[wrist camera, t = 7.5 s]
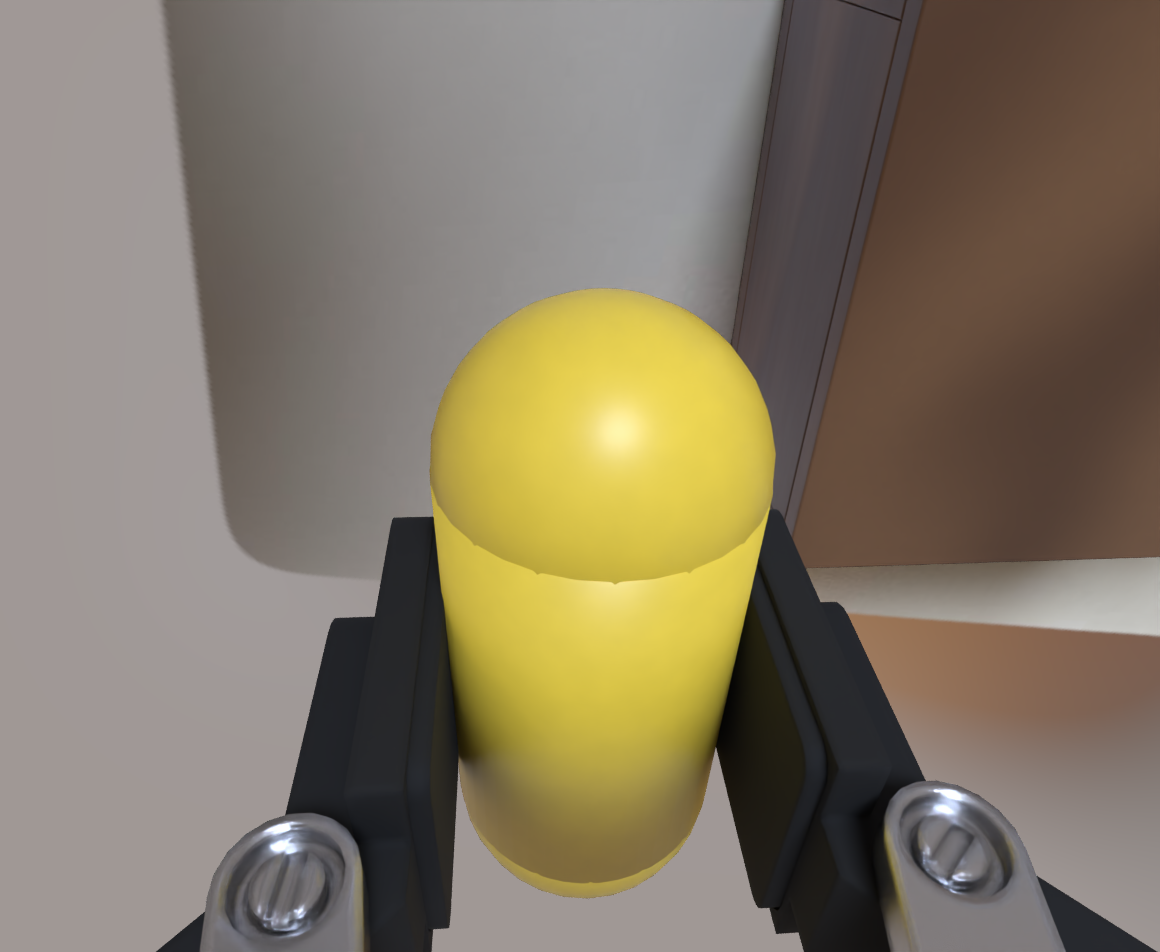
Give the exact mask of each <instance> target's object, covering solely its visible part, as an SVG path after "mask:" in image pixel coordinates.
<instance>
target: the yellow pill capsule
mask: <svg viewBox="0 0 1160 952" xmlns="http://www.w3.org/2000/svg"><path fill="white" fill-rule="evenodd" d="M775 457H776V452H775V445H774V439H773V432H772V425H771V421H770V417H769V413H768V410H767V406H766V404H765V402H764V399H763V397H762V394H761V392H760V390H759V387H758V385H757V382H756V380H755V379H754V377H753V376H752V374H751V372H750V371H749V369H748V368H747V366H746V365H745V363H744V362H743V361H742V359H741V358H740V357H739V355H738V354H737V353H736V351H735V350H734V349H733V347H732V346H731V345H730V344H729V343H728V342H727V341H726V340H725V339H724V338H723V337H722V336H721V335H720V334H719V333H718V332H716V331H715V330H714V329H712V328H711V327H710V326H709V325H707V324H706V323H705V322H704V321H702V320H701V319H700V318H698V317H697V316H695V315H694V314H692V313H691V312H689V311H688V310H686V309H683V308H681V307H679V306H677V305H675V304H673V303H670V302H667V301H664V300H662V299H659V298H656V297H653V296H650V295H647V294H644V293H640V292H635V291H630V290H623V289H610V288H596V289H584V290H577V291H572V292H568V293H564V294H560V295H556V296H552V297H548V298H545V299H542V300H539V301H536V302H534V303H532V304H530V305H528V306H526V307H524V308H522V309H520V310H519V311H517V312H516V313H514V314H512V315H511V316H509V317H507V318H506V319H504V320H503V321H501V322H500V323H498V324H497V325H496V326H494V327H493V328H492V329H491V330H489V331H488V332H487V333H486V334H485V335H484V336H483V337H482V338H481V339H480V341H479V342H478V343H477V344H476V345H475V346H474V347H473V348H472V349H471V350H470V351H469V352H468V354H467V355H466V356H465V358H464V359H463V360H462V361H461V363H460V364H459V365H458V367H457V369H456V371H455V373H454V374H453V376H452V378H451V380H450V382H449V383H448V385H447V387H446V389H445V391H444V394H443V396H442V399H441V402H440V405H439V408H438V411H437V415H436V419H435V422H434V426H433V430H432V433H431V459H430V485H431V495H432V505H433V515H434V525H435V534H436V544H437V554H438V564H439V574H440V584H441V593H442V597H443V601H444V610H445V620H446V631H447V641H448V651H449V661H450V671H451V681H452V691H453V701H454V711H455V722H456V732H457V742H458V752H459V772H460V782H461V788H462V792H463V797H464V800H465V803H466V807H467V810H468V813H469V817H470V820H471V822H472V824H473V826H474V828H475V830H476V832H477V834H478V836H479V838H480V840H481V841H482V842H483V843H484V845H485V846H486V847H487V848H488V849H489V851H490V852H491V853H492V854H493V855H494V857H495V858H496V859H497V860H498V861H499V863H500V864H501V865H502V866H503V867H505V868H506V869H507V870H509V871H510V872H511V873H512V874H514V875H515V876H516V877H517V878H518V879H520V880H521V881H524V882H526V883H527V884H529V885H531V886H533V887H535V888H537V889H539V890H541V891H545V892H549V893H553V894H556V895H559V896H563V897H576V898H595V897H602V896H609V895H614V894H617V893H619V892H622V891H625V890H628V889H631V888H633V887H635V886H637V885H638V884H640V883H642V882H643V881H645V880H647V879H648V878H650V877H652V876H653V875H654V874H656V873H657V872H658V871H659V870H660V869H661V868H662V867H663V866H664V865H665V864H666V863H668V862H669V861H670V860H671V859H672V858H673V857H674V856H675V855H676V854H677V853H678V852H679V850H680V849H681V847H682V846H683V844H684V843H685V841H686V840H687V838H688V837H689V835H690V833H691V831H692V829H693V826H694V824H695V822H696V819H697V817H698V815H699V812H700V810H701V807H702V804H703V801H704V796H705V792H706V788H707V783H708V778H709V774H710V770H711V765H712V761H713V757H714V752H715V748H716V743H717V739H718V734H719V730H720V726H721V721H722V717H723V712H724V708H725V704H726V699H727V695H728V690H729V686H730V681H731V677H732V673H733V668H734V664H735V659H736V655H737V651H738V646H739V642H740V637H741V633H742V628H743V624H744V620H745V615H746V611H747V606H748V602H749V598H750V593H751V589H752V584H753V580H754V575H755V571H756V567H757V562H758V558H759V553H760V549H761V545H762V540H763V536H764V531H765V527H766V522H767V518H768V514H769V509H770V505H771V500H772V496H773V478H774V468H775Z"/></svg>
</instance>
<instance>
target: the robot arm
mask: <svg viewBox="0 0 1160 952" xmlns="http://www.w3.org/2000/svg"><path fill="white" fill-rule="evenodd" d="M716 748H717V753H718V757H719V760H720V765H721V769H722V773H723V777H724V781H725V785H726V789H727V793H728V798H729V801H730V806H731V810H732V814H733V818H734V822H735V826H736V830H737V834H738V838H739V843H740V846H741V851H742V855H743V859H744V863H745V867H746V871H747V875H748V879H749V883H750V887H751V891H752V895H753V898H754V901H755V903H756V905H757V907H758V908H770V912H771V916H772V920H773V923H774V927H775V931H776V934H779V933H780V934H781V933H795V932H799V936H800V939H801V943H802V946H803V950H804V952H1156V951H1155V950H1153V949H1152V948H1150V947H1149V946H1147V945H1146V944H1144V943H1142V942H1141V941H1139V940H1138V939H1136V938H1134V937H1133V936H1131V935H1130V934H1128V933H1127V932H1125V931H1123V930H1122V929H1120V928H1119V927H1117V926H1115V925H1114V924H1112V923H1111V922H1109V921H1108V920H1106V919H1104V918H1103V917H1101V916H1099V915H1098V914H1096V913H1095V912H1093V911H1091V910H1090V909H1088V908H1087V907H1085V906H1084V905H1082V904H1081V903H1079V902H1077V901H1076V900H1074V899H1073V898H1071V897H1069V896H1068V895H1066V894H1065V893H1063V892H1061V891H1060V890H1058V889H1057V888H1055V887H1053V886H1052V885H1050V884H1049V883H1047V882H1046V881H1044V880H1042V879H1041V878H1039V877H1038V876H1036V874H1035V871H1034V868H1033V866H1032V863H1031V861H1030V858H1029V855H1028V853H1027V850H1026V848H1025V846H1024V844H1023V842H1022V841H1021V839H1020V837H1019V835H1018V833H1017V831H1016V830H1015V828H1014V827H1013V826H1012V825H1011V824H1010V822H1009V821H1008V820H1007V819H1006V818H1005V817H1004V816H1003V814H1002V813H1001V812H1000V811H999V810H998V809H996V808H995V807H994V806H993V805H991V804H990V803H989V802H987V801H986V800H984V799H983V798H982V797H980V796H979V795H977V794H975V793H973V792H971V791H969V790H966V789H964V788H962V787H960V786H958V785H954V784H949V783H945V782H939V781H926V780H925V779H924V776H923V775H922V772H921V770H920V767H919V765H918V763H917V761H916V759H915V757H914V755H913V753H912V751H911V748H910V746H909V744H908V742H907V740H906V738H905V735H904V733H903V731H902V729H901V727H900V725H899V723H898V721H897V718H896V716H895V714H894V712H893V710H892V708H891V706H890V704H889V701H888V699H887V697H886V695H885V693H884V691H883V689H882V687H881V684H880V682H879V680H878V678H877V676H876V674H875V672H874V670H873V668H872V665H871V663H870V661H869V659H868V657H867V655H866V652H865V651H864V648H863V646H862V644H861V642H860V640H859V638H858V635H857V633H856V631H855V629H854V627H853V625H852V623H851V621H850V619H849V616H848V615H847V613H846V611H845V610H844V608H843V607H842V606H841V605H840V604H839V603H837V602H820V600H819V598H818V596H817V593H816V591H815V589H814V586H813V584H812V582H811V580H810V577H809V575H808V573H807V571H806V568H805V566H804V564H803V561H802V559H801V557H800V555H799V552H798V550H797V548H796V546H795V543H794V541H793V539H792V536H791V534H790V532H789V530H788V527H787V525H786V523H785V521H784V518H783V516H782V514H781V513H780V511H779V510H777V509H769V514H768V518H767V522H766V527H765V531H764V536H763V540H762V545H761V549H760V553H759V558H758V562H757V567H756V571H755V575H754V580H753V584H752V589H751V593H750V598H749V602H748V606H747V611H746V615H745V620H744V624H743V628H742V633H741V637H740V642H739V646H738V651H737V655H736V659H735V664H734V668H733V673H732V677H731V681H730V686H729V690H728V695H727V699H726V704H725V708H724V712H723V717H722V721H721V726H720V730H719V734H718V739H717V743H716ZM458 762H459V752H458V742H457V732H456V722H455V711H454V701H453V691H452V681H451V671H450V661H449V651H448V641H447V631H446V620H445V610H444V601H443V597H442V593H441V584H440V574H439V564H438V554H437V544H436V534H435V525H434V517H404V518H393V520H392V523H391V528H390V533H389V539H388V545H387V550H386V556H385V562H384V567H383V573H382V579H381V584H380V590H379V596H378V601H377V607H376V613H375V617H353V618H335V619H334V620H333V622H332V623H331V626H330V629H329V632H328V636H327V640H326V644H325V649H324V653H323V657H322V662H321V666H320V670H319V674H318V678H317V683H316V687H315V691H314V695H313V700H312V704H311V708H310V713H309V717H308V721H307V725H306V730H305V734H304V738H303V742H302V746H301V750H300V755H299V759H298V764H297V767H296V772H295V776H294V780H293V784H292V789H291V793H290V797H289V802H288V806H287V810H286V814H285V816H282V817H279V818H276V819H273V820H269V821H267V822H265V823H263V824H262V825H261V826H259V827H257V828H255V829H254V830H252V831H251V832H249V833H247V834H246V835H245V836H244V837H243V838H241V840H240V841H239V842H237V843H236V844H235V846H233V847H232V848H231V849H230V850H229V851H228V852H227V854H226V856H225V857H224V859H223V860H222V862H221V863H220V865H219V867H218V868H217V870H216V872H215V873H214V875H213V879H212V882H211V886H210V889H209V892H208V896H207V901H206V909H205V912H204V913H203V914H201V915H200V916H199V917H198V918H197V919H196V920H194V921H193V922H192V923H190V924H189V925H188V926H187V927H186V928H184V929H183V930H182V931H181V932H180V933H178V934H177V935H176V936H175V937H174V938H172V939H171V940H170V941H169V942H167V943H166V944H165V945H164V946H162V947H161V948H160V949H159V950H158V951H156V952H431V951H432V936H433V929H443V928H449V925H450V914H451V896H452V877H453V858H454V839H455V819H456V800H457V781H458Z"/></svg>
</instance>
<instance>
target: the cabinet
mask: <svg viewBox="0 0 1160 952" xmlns="http://www.w3.org/2000/svg"><path fill="white" fill-rule="evenodd" d="M731 346H732V347H733V349H734V350H735V351H736V353H737V354H738V355H739V357H740V358H741V359H742V361H743V362H744V363H745V365H746V366H747V368H748V369H749V371H750V372H751V374H752V376H753V377H754V379H755V380H756V382H757V385H758V387H759V390H760V392H761V394H762V397H763V399H764V402H765V404H766V406H767V410H768V413H769V417H770V421H771V425H772V432H773V439H774V445H775V452H776V457H775V468H774V478H773V496H772V500H771V505H770V509H777V510H779V511H780V513H781V514H782V516H783V518H784V521H785V523H786V525H787V527H788V530H789V532H790V534H791V536H792V539H793V541H794V543H795V546H796V548H797V550H798V552H799V555H800V557H801V559H802V561H803V564H804V566H805V568H830V567H861V566H892V565H924V564H955V563H987V562H1018V561H1049V560H1081V559H1112V558H1144V557H1160V0H785V4H784V10H783V17H782V23H781V30H780V36H779V43H778V49H777V55H776V62H775V68H774V75H773V81H772V88H771V94H770V100H769V107H768V113H767V120H766V126H765V132H764V139H763V145H762V152H761V158H760V165H759V171H758V177H757V184H756V190H755V197H754V203H753V210H752V216H751V222H750V229H749V235H748V242H747V248H746V254H745V261H744V267H743V274H742V280H741V287H740V293H739V299H738V306H737V312H736V319H735V325H734V332H733V338H732V344H731Z"/></svg>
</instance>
